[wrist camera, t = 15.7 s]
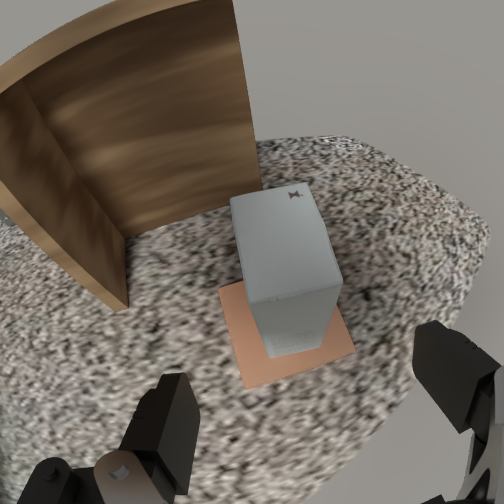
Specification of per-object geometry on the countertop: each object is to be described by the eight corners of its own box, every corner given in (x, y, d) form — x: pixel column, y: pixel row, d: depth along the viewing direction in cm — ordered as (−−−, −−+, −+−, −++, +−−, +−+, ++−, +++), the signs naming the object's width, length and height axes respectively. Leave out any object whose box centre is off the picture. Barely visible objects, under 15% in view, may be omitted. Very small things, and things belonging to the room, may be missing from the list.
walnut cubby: (113, 232, 32) (4, 63, 12) (259, 185, 32) (222, -30, 13) (115, 311, 26) (-61, 127, 7) (290, 258, 27) (268, -32, 8)
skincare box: (254, 292, 25) (227, 193, 15) (303, 281, 25) (308, 177, 15) (267, 361, 22) (245, 305, 12) (322, 349, 22) (349, 282, 12)
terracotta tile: (219, 291, 26) (217, 288, 26) (315, 260, 26) (315, 257, 26) (246, 389, 21) (245, 388, 21) (354, 352, 22) (356, 350, 21)
